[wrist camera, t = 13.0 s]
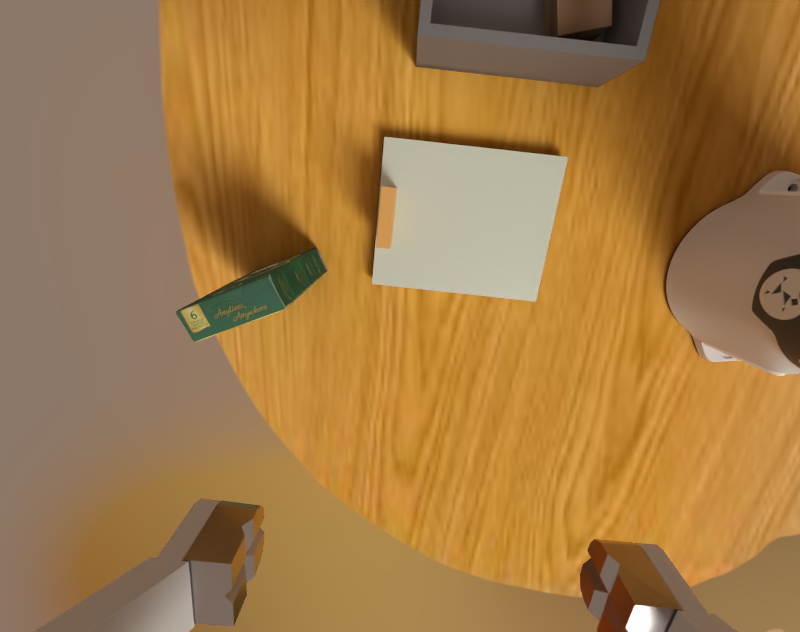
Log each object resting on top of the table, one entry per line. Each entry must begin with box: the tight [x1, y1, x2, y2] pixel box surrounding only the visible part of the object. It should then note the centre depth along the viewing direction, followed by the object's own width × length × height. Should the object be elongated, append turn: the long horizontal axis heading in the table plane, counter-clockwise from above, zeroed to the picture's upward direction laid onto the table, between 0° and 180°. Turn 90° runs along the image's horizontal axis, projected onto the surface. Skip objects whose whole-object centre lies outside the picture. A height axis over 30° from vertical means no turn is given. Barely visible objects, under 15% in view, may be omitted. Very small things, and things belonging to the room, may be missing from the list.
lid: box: [372, 137, 568, 302], centre depth 35 cm, size 16×13×6 cm
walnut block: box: [543, 0, 612, 41], centre depth 30 cm, size 4×4×3 cm
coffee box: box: [176, 248, 327, 342], centre depth 33 cm, size 8×3×13 cm, turn 110°
